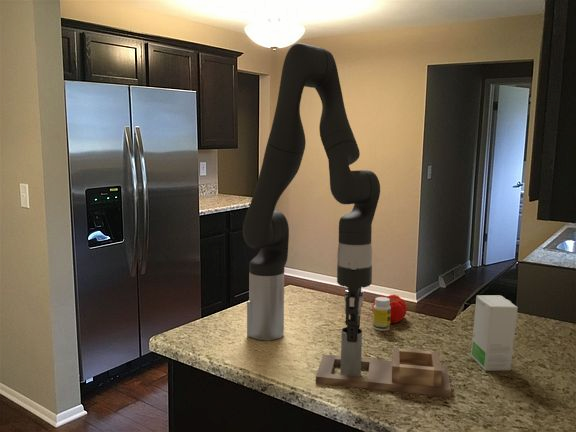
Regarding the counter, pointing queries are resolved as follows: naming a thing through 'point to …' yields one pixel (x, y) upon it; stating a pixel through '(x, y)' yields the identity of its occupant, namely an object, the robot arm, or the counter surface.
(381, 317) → the supplement bottle
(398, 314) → the tomato
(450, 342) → the counter surface
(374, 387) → the socket board
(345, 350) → the grey hollow tube
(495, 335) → the skincare box
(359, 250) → the robot arm
